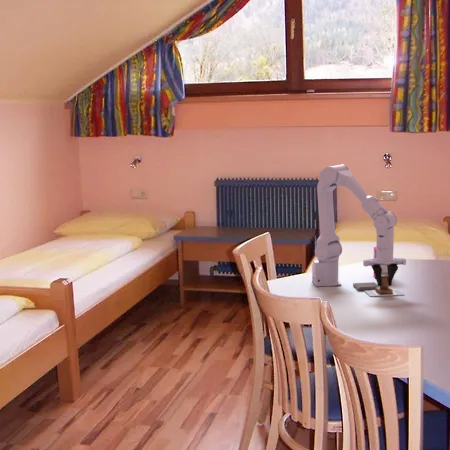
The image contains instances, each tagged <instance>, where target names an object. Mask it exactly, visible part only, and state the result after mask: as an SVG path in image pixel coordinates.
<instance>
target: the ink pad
mask: <svg viewBox="0 0 450 450" xmlns="http://www.w3.org/2000/svg"><path fill="white" fill-rule="evenodd" d="M352 285H353V287H354V289H356V291H358V292H365V291H371V290H376V287H380V286H378V285H377V282H374V281H373V282H372V281H371V282H354V283H352Z"/></svg>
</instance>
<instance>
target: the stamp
mask: <svg viewBox="0 0 450 450" xmlns="http://www.w3.org/2000/svg"><path fill="white" fill-rule="evenodd" d="M393 290H394V289H393V288H391V287H390V286H389V276H388V275H381V286H379V287H376V292H377V293H379V294H380V295H383V294H393Z"/></svg>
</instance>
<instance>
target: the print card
mask: <svg viewBox="0 0 450 450" xmlns="http://www.w3.org/2000/svg"><path fill="white" fill-rule="evenodd" d="M392 290H393V294H383V295H380V294H379V293H377V292H376V290H371V291H364V292H365V294H366V295H367V296H369V297H370V298H376V297H375V296H380V297H397V296H399V297H400V295H403V296H405V293H403V292H402V291H400V290H399V289H395V288H394V289H392Z"/></svg>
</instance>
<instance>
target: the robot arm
mask: <svg viewBox="0 0 450 450" xmlns="http://www.w3.org/2000/svg"><path fill="white" fill-rule="evenodd" d="M338 186H341V187H346V188H347V189H348V190H349V191H350V192H351V193H352V194H353V195H354V196H355V197H356V198H357V199H358V200H359V201H360V202H361V204H360V205H361V208H362V210H363V211H364V212H365V213H366V214H367V215H368V216H369V217H370V218H371V219H372V221H373V222H372V223H373V226H374V227H375V230H376V246H375V247H376V259H374V258H369V259H363V263H362V265H363V266H364V267H369V266H370V267H371V269H372V270H373V274H374V273H375V276H376V279H375V280H376V284H377V285H378V286H379V287H380V286H381V274H382V268H381V266H380V265H387V270H388V276H389V287H391V286H392V283H393V280H394V278H395V275H396V273H397V272H398V269H399V266H398V265H400V266H401V265H403V266H404V265H405V266H407V265H406V264H407V258H403V257H402V258H401V257H394V241H395V240H394V238H395V237H394V233H395V232H394V231H395V228H394V227H395V226H396V225H397V223H398V219H397V216H396V214H395V213H394V212H393V211H389V210H388V208H386V207H384V205H383V204H382V203H381V202H380V199H379V198H378V197H376V196H374V195H370V194H368V192H367V191H366V190H365V188H364V187H363V186H362V185H361V184H360V182H359V181H358V180H357V179H356V177H355V176H354V173H353V170H350V168H349V167H348V166H347V165H346V164H337V165H328V166H325V167H324V168H323V169H322V170H321V171H320V172H319V180H318V183H317V186H316V192H317V194H316V195H317V202H318V203H317V205H318V206H317V209H318V220H319V223H318V224H319V233H320V234H319V236H318V238H317V239H316V240H315V241H316V244H315V249H314V255H315V257H316V260H313V261H312V265H311V266H312V269H311V275H312V277H311V278H312V279H311V281H312V283H313V284H314V286H315V287H332V286H342V283H341V282H340V281H339V259H340V256H341V254H342V253H343V247H342V244H341V242H340V237H339V235H337V234H336V224H335V210H334V209H335V208H334V196H333V195H334V194H333V191H334V190H336V188H337V187H338Z"/></svg>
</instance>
